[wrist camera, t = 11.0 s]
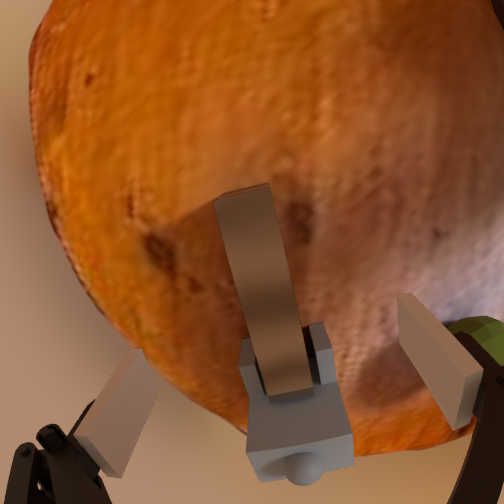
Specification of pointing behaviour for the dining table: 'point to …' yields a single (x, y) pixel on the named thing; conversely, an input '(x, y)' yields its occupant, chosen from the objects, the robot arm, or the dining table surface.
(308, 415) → the grey two-prong block
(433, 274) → the dining table surface
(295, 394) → the rail
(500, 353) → the apple
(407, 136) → the dining table surface
